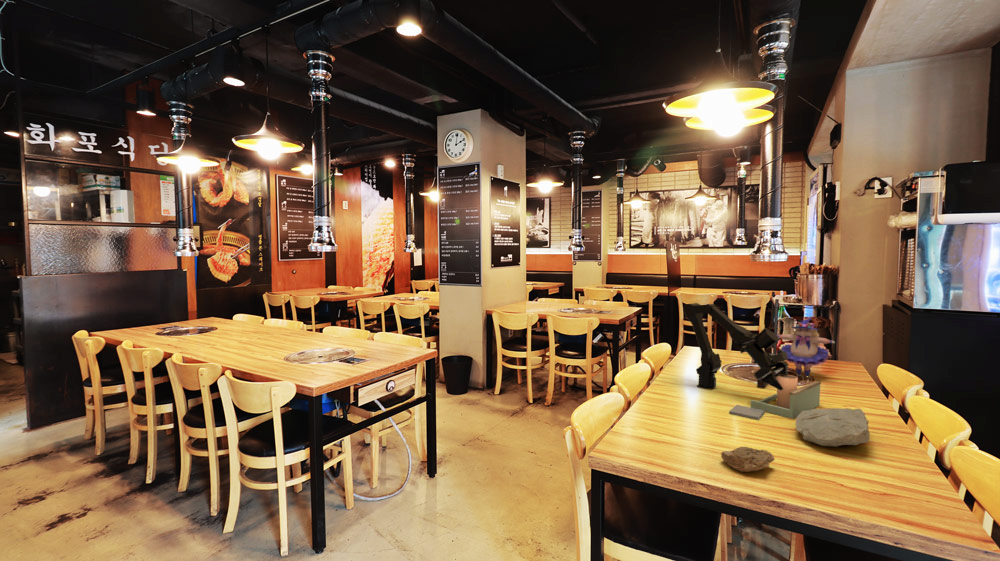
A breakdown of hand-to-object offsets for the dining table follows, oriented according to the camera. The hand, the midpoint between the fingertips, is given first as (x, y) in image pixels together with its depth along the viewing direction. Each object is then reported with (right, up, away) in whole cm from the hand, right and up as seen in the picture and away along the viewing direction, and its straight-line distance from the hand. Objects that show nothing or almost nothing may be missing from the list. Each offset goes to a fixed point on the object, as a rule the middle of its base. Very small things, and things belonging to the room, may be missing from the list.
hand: (787, 387), depth 183 cm
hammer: (+13, -6, +38) cm, 40 cm away
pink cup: (0, -8, +1) cm, 8 cm away
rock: (-44, -12, -51) cm, 68 cm away
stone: (-3, -10, -29) cm, 30 cm away
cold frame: (0, -8, +1) cm, 8 cm away
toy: (+36, -5, +45) cm, 58 cm away
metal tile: (-20, -8, -7) cm, 22 cm away
